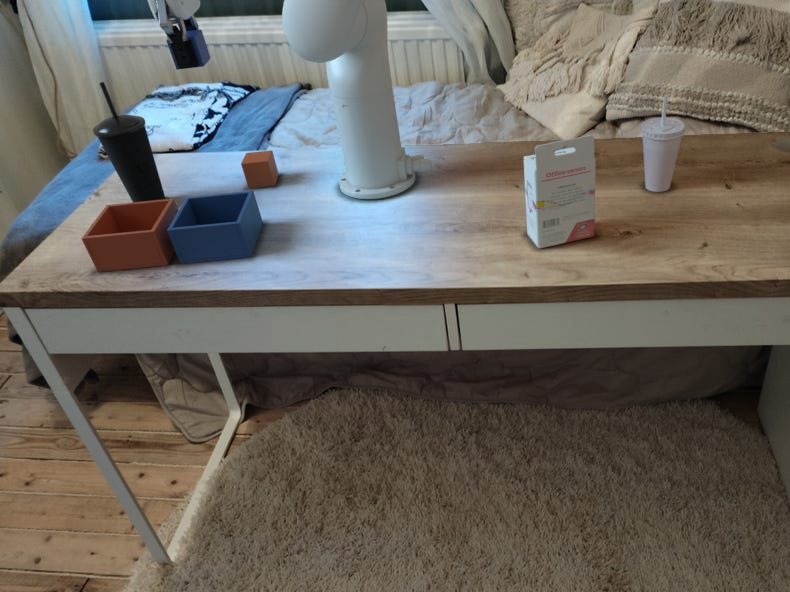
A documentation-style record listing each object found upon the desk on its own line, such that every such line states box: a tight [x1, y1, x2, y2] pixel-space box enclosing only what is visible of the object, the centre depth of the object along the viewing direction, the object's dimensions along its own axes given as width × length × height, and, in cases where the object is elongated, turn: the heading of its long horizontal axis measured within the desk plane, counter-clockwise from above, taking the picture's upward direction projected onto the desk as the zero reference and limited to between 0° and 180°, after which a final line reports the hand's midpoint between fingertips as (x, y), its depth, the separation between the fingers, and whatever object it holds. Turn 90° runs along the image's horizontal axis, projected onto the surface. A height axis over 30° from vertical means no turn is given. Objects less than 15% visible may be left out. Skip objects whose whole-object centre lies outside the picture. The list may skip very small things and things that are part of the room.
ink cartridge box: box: [523, 134, 597, 249], centre depth 95 cm, size 9×5×15 cm, turn 106°
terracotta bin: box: [81, 198, 179, 273], centre depth 104 cm, size 10×10×6 cm
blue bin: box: [167, 190, 264, 265], centre depth 104 cm, size 10×10×6 cm
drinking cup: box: [92, 81, 167, 202], centre depth 111 cm, size 8×8×20 cm
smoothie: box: [639, 95, 686, 193], centre depth 105 cm, size 6×6×14 cm
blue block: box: [165, 29, 211, 70], centre depth 113 cm, size 4×4×4 cm
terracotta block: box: [240, 150, 280, 189], centre depth 120 cm, size 4×4×4 cm
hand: (193, 61), depth 114 cm, fingers closed on blue block, 4 cm apart
